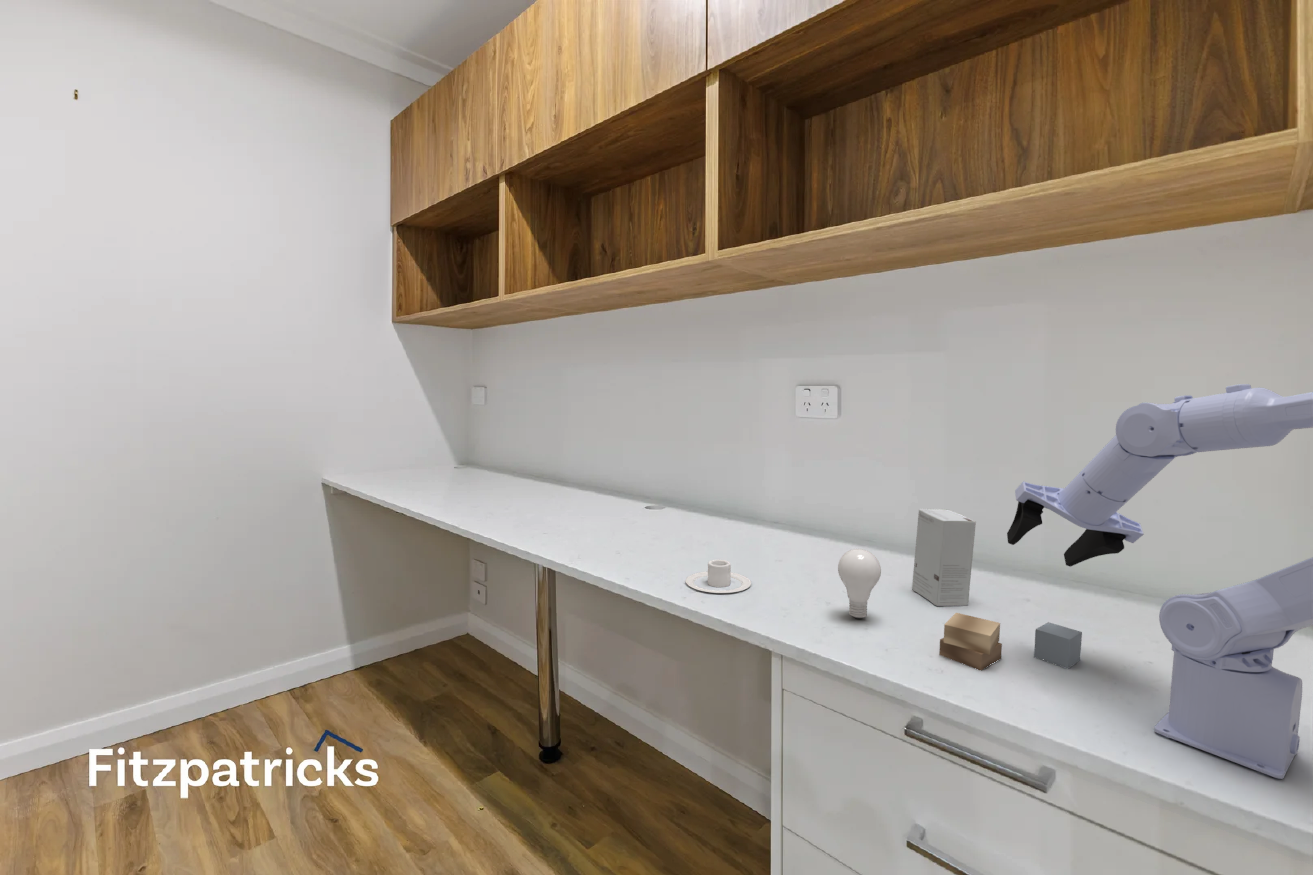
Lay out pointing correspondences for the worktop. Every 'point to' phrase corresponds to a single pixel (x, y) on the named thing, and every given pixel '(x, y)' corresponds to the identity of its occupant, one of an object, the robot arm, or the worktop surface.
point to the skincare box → (943, 557)
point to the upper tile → (972, 633)
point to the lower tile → (970, 655)
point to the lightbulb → (859, 579)
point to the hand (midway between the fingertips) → (1038, 549)
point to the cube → (1058, 644)
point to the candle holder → (719, 577)
